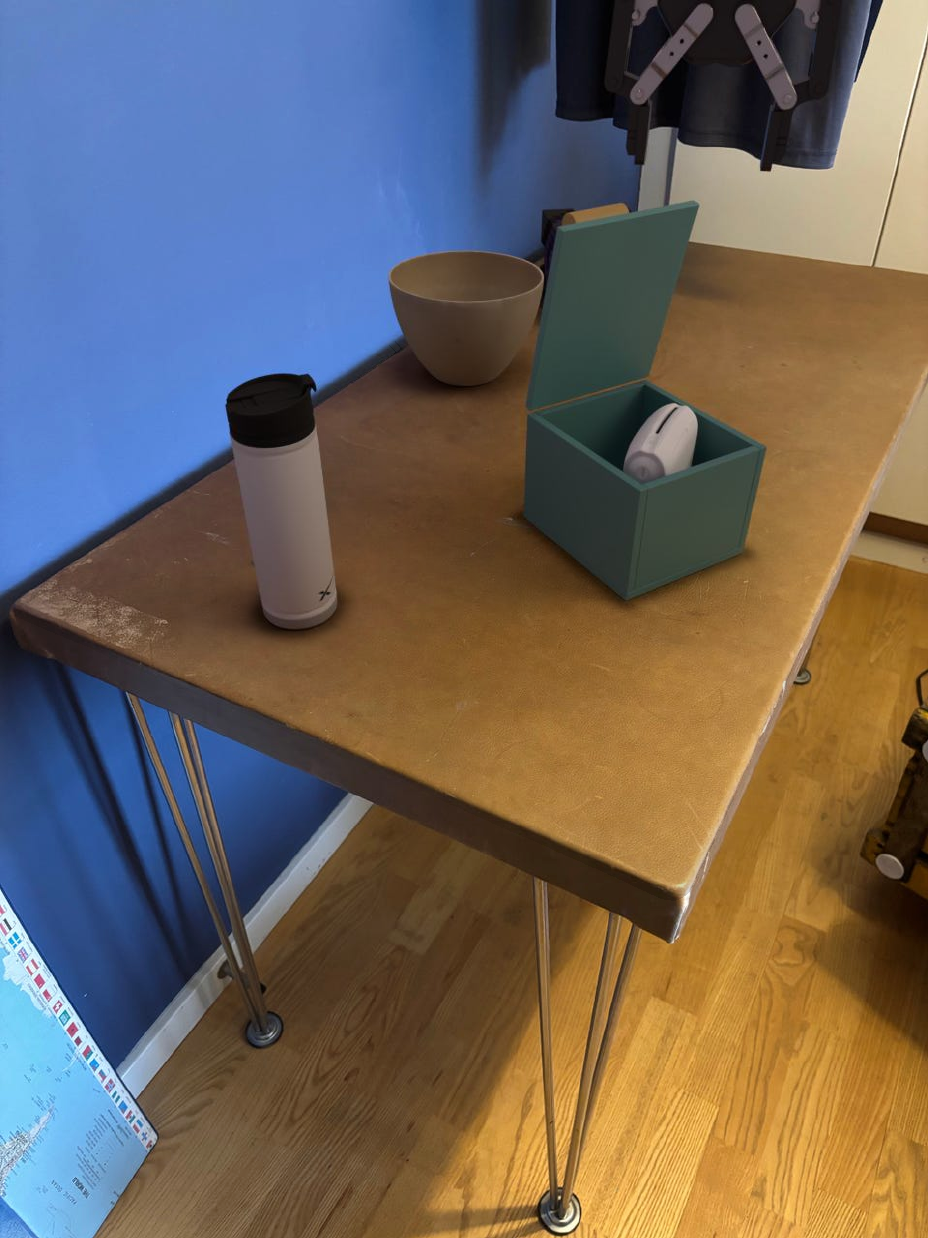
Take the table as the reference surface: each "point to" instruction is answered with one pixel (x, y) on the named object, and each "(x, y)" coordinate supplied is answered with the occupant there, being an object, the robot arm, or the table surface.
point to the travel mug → (283, 497)
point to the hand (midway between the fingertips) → (702, 165)
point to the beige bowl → (465, 311)
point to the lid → (607, 298)
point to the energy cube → (551, 238)
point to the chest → (637, 490)
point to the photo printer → (662, 444)
